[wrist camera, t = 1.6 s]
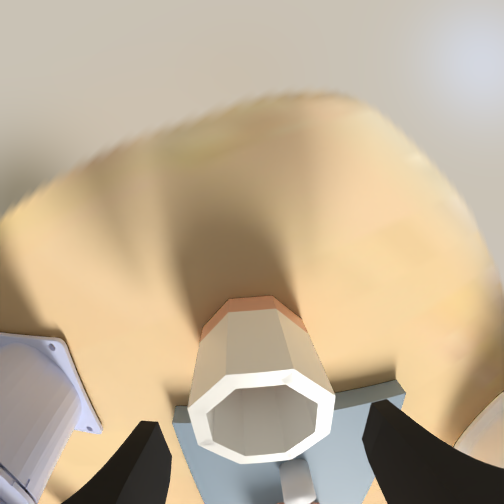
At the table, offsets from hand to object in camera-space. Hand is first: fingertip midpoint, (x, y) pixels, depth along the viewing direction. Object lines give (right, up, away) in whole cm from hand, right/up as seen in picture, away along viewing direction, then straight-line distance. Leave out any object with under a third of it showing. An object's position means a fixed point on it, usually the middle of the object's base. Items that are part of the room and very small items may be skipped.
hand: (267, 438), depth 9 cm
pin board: (+2, -12, +10) cm, 16 cm away
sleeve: (0, +2, +6) cm, 7 cm away
